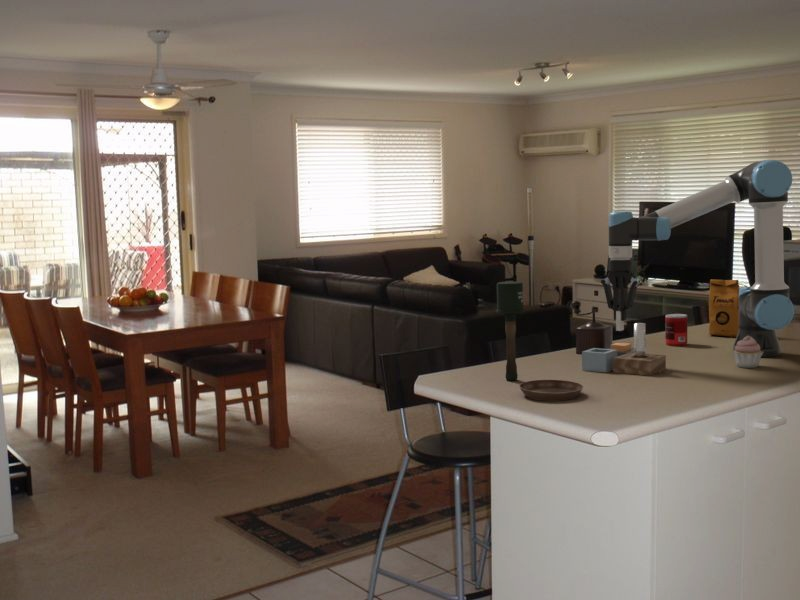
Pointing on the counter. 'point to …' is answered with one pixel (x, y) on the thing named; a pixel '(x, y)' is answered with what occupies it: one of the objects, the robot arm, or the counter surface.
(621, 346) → the orange square block
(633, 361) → the socket block
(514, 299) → the potato masher grenade
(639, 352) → the peg
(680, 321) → the canned food
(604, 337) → the manual coffee grinder
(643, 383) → the counter surface
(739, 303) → the robot arm
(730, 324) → the coffee package
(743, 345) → the cupcake
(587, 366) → the blue square collar
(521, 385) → the plant saucer
